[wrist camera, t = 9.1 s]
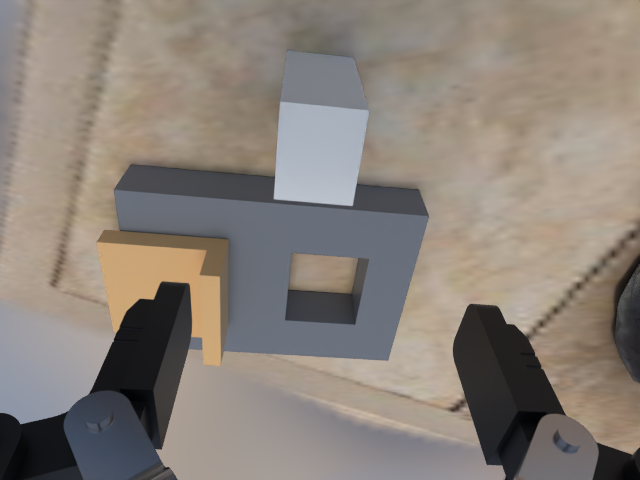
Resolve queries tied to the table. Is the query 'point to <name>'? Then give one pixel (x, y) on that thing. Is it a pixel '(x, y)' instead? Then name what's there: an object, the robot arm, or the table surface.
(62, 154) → the table surface
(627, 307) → the clay pot
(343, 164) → the plug
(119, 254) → the tan l-shaped block
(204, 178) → the socket plate
